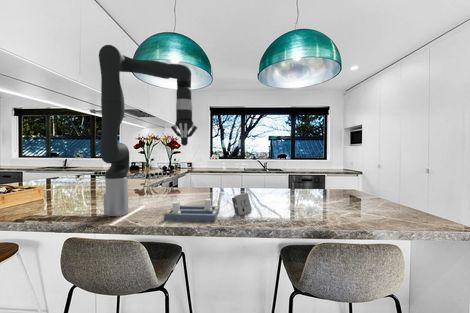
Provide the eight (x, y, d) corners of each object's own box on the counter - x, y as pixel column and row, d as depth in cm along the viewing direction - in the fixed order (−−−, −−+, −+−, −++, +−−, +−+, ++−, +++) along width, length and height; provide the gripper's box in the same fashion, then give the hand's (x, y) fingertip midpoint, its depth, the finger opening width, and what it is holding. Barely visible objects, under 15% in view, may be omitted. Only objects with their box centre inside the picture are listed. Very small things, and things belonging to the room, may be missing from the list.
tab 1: (171, 215, 100) (171, 203, 100) (173, 213, 104) (173, 201, 103) (178, 215, 100) (178, 203, 100) (181, 213, 103) (181, 201, 103)
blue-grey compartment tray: (164, 220, 98) (164, 213, 98) (174, 210, 112) (174, 205, 112) (214, 221, 97) (214, 214, 97) (219, 211, 111) (219, 205, 111)
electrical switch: (240, 216, 104) (239, 196, 104) (231, 215, 107) (230, 195, 107) (252, 211, 111) (250, 192, 111) (243, 210, 115) (242, 192, 115)
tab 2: (203, 212, 106) (203, 200, 105) (205, 209, 109) (205, 198, 109) (211, 212, 106) (211, 200, 105) (212, 210, 109) (212, 198, 109)
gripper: (168, 108, 107) (168, 145, 108) (195, 108, 106) (196, 145, 107) (173, 110, 114) (173, 145, 115) (199, 110, 113) (199, 145, 114)
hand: (184, 145), depth 111 cm, fingers closed
